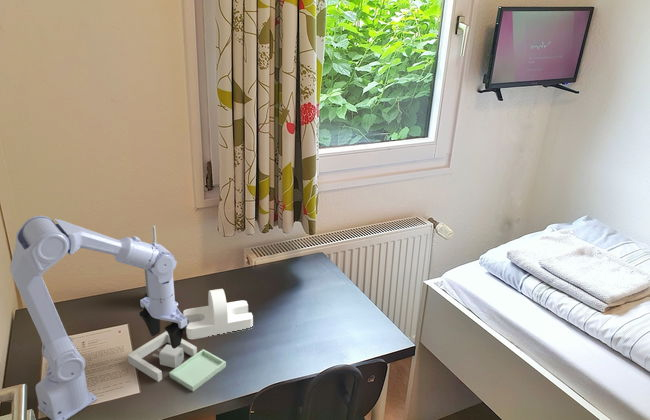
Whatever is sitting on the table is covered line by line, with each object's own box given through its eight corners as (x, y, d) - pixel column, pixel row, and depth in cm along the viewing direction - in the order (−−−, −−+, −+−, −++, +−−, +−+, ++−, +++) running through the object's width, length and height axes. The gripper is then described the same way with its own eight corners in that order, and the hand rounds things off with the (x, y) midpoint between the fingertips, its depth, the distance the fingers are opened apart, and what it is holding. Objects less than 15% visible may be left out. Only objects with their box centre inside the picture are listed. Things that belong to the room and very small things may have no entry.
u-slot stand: (183, 320, 146) (181, 287, 142) (245, 310, 152) (245, 278, 148) (187, 341, 138) (185, 307, 133) (253, 329, 144) (253, 296, 140)
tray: (193, 391, 121) (192, 386, 120) (169, 377, 125) (169, 372, 124) (226, 366, 129) (226, 361, 129) (203, 353, 133) (203, 349, 132)
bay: (158, 381, 123) (157, 373, 122) (128, 362, 128) (127, 354, 127) (197, 354, 132) (196, 347, 131) (167, 338, 138) (167, 330, 137)
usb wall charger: (175, 369, 127) (174, 356, 126) (150, 363, 129) (149, 350, 127) (184, 359, 131) (183, 346, 129) (159, 353, 132) (158, 340, 131)
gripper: (196, 296, 121) (198, 343, 127) (155, 276, 128) (159, 321, 134) (172, 310, 116) (176, 358, 121) (131, 288, 123) (136, 334, 128)
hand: (165, 340), depth 127 cm, fingers open, 7 cm apart
